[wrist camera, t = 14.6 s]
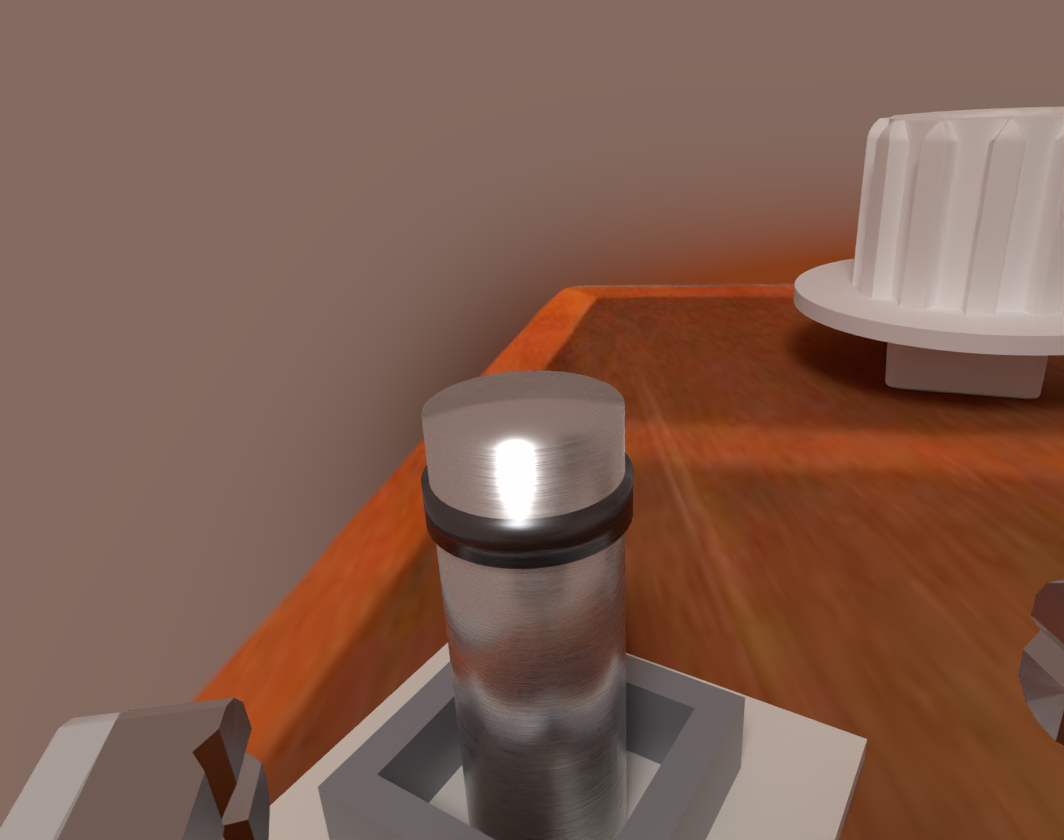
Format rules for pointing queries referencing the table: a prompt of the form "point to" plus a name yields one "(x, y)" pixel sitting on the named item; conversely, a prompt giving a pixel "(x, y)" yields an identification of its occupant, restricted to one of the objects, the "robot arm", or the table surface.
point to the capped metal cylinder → (534, 596)
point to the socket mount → (651, 761)
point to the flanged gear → (956, 252)
